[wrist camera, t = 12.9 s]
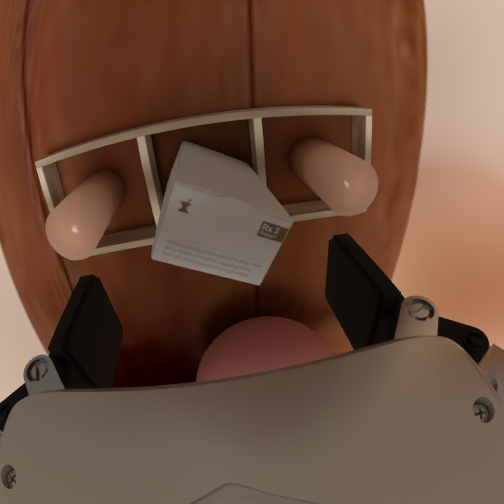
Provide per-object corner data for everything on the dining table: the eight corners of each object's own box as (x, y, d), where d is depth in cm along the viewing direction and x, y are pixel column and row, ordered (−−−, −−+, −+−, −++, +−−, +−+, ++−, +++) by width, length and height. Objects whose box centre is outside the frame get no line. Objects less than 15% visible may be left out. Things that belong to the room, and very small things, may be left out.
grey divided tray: (354, 201, 27) (399, 241, 20) (77, 246, 24) (47, 298, 18) (357, 106, 22) (413, 119, 15) (48, 154, 19) (-2, 185, 12)
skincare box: (166, 184, 23) (142, 265, 13) (183, 135, 21) (167, 178, 11) (232, 205, 25) (258, 294, 15) (252, 160, 23) (297, 222, 13)
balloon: (339, 349, 40) (378, 434, 27) (207, 376, 38) (219, 474, 25) (354, 268, 32) (425, 371, 19) (179, 299, 30) (180, 434, 17)
